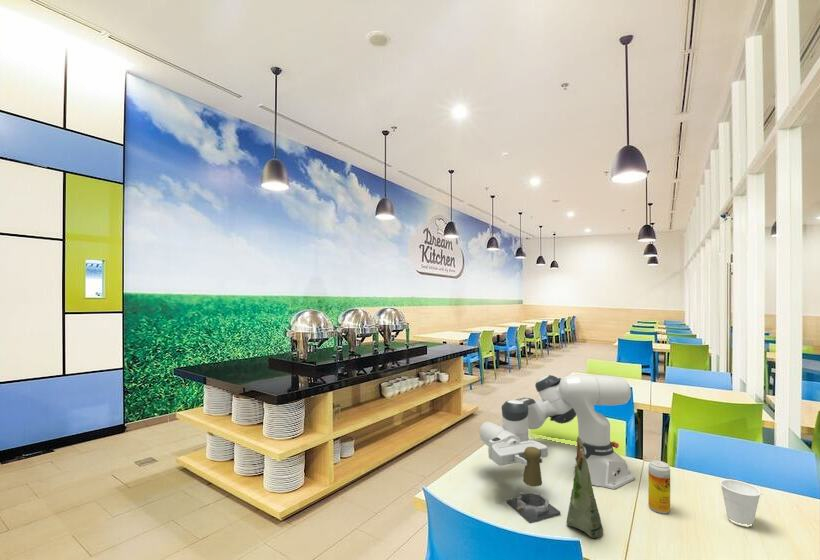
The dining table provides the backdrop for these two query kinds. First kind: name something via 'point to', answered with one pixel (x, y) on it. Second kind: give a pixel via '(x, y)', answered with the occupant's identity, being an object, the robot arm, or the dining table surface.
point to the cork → (532, 467)
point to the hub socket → (533, 507)
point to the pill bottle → (659, 486)
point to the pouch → (583, 499)
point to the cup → (740, 500)
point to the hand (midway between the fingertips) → (534, 462)
